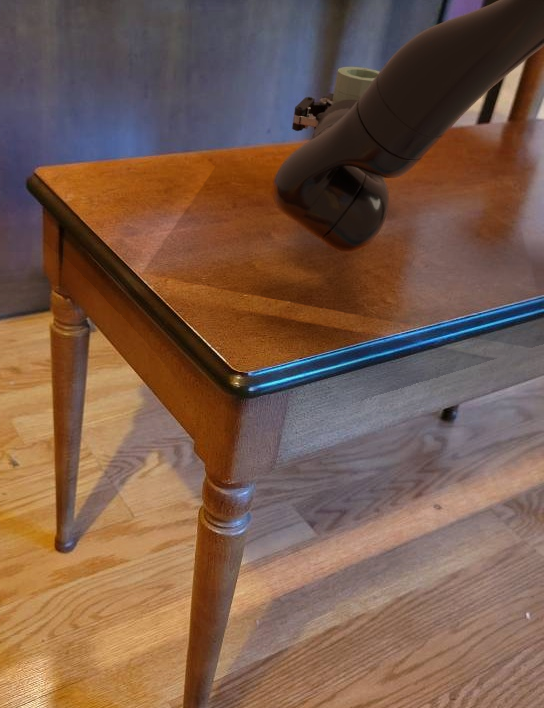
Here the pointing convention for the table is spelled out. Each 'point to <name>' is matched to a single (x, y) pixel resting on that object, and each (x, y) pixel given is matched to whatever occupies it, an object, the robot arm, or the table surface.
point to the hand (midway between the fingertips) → (357, 106)
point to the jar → (352, 82)
